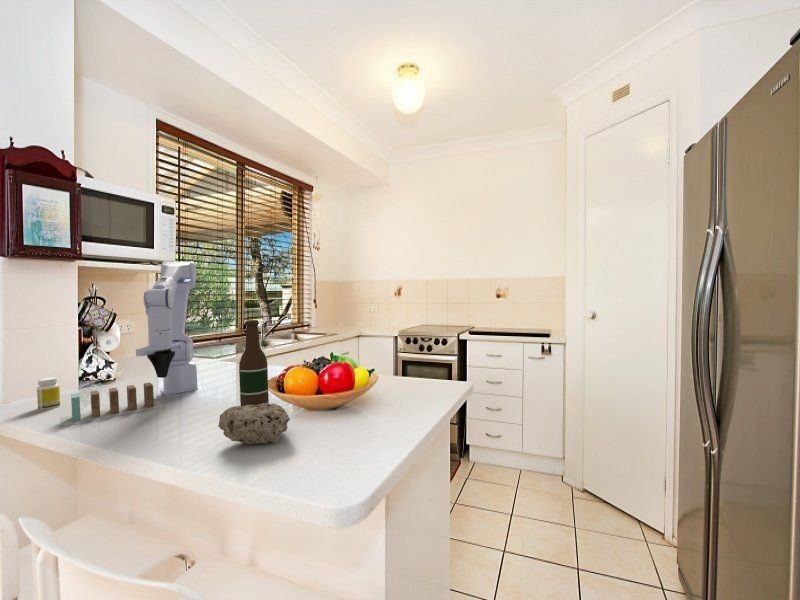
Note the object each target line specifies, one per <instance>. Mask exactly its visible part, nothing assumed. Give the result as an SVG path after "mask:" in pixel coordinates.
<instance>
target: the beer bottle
mask: <svg viewBox="0 0 800 600" xmlns="http://www.w3.org/2000/svg"><path fill="white" fill-rule="evenodd" d="M244 324H245V325H244V326H245V327H246V328H245V349H244V351H243V353H242V354H241V358H240V359H239V365H238V368H239V369H238V371H239V372H238V374H239V375H238V376H239V398H240V399H239V401H240V406H246V405H258V404H263V403H269V402H270V401H269V399H270V398H269V375H268V372H269V371H268V358H267V357H266V354H265V352H264V351H263V349H262V348H261V343H260V334H259V325H260V322H259V320H258V319H249V320H245V323H244ZM269 404H270V403H269Z"/></svg>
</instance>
